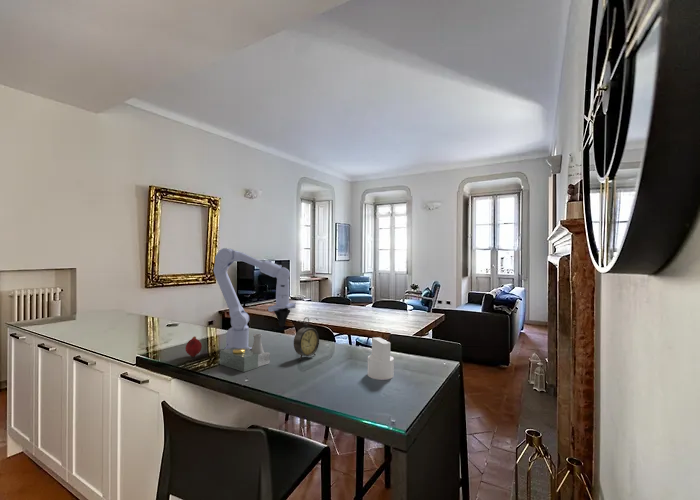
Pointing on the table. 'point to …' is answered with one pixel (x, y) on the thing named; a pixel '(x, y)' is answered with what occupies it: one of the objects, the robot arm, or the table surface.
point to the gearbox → (243, 358)
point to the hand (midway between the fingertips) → (281, 326)
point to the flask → (257, 344)
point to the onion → (193, 347)
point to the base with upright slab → (380, 360)
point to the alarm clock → (306, 341)
